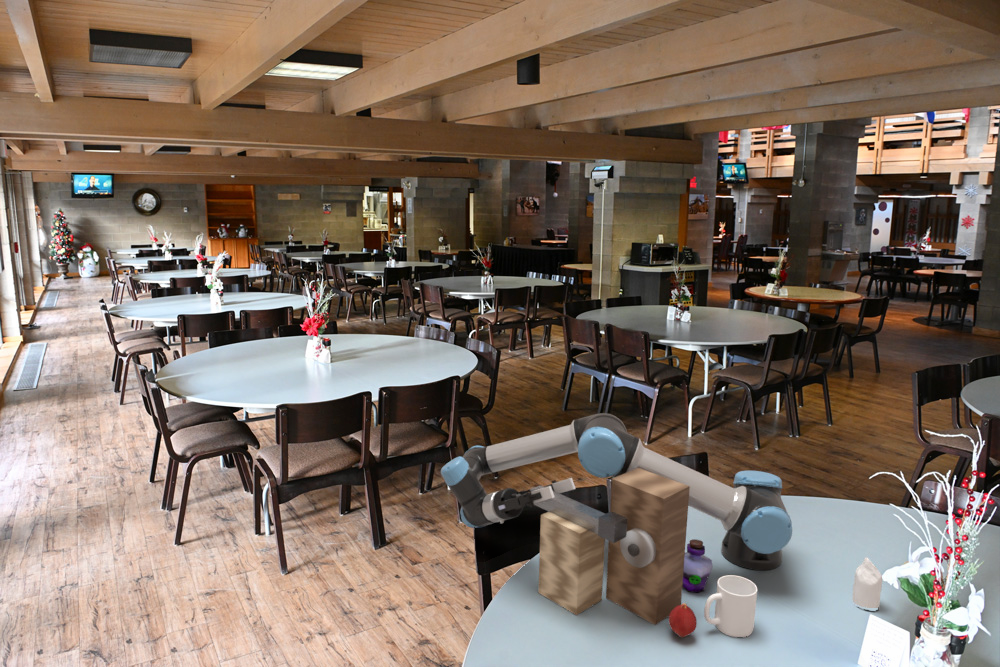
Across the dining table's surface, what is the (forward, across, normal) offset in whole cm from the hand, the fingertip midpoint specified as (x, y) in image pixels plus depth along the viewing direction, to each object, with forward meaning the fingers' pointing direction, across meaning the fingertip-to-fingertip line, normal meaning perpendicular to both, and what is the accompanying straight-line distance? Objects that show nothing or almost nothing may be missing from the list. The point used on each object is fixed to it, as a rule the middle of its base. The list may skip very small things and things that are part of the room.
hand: (562, 487), depth 159 cm
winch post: (+1, -9, -31) cm, 33 cm away
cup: (+17, -17, -40) cm, 47 cm away
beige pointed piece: (+31, -50, -49) cm, 77 cm away
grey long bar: (+1, 0, -8) cm, 8 cm away
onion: (+12, -7, -38) cm, 40 cm away
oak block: (-10, 0, -25) cm, 27 cm away
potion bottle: (+5, -26, -33) cm, 42 cm away
